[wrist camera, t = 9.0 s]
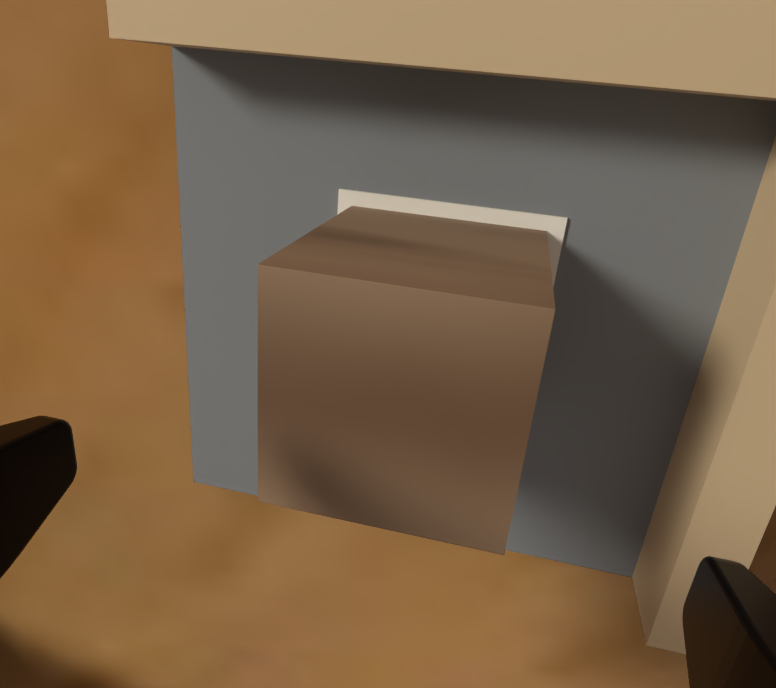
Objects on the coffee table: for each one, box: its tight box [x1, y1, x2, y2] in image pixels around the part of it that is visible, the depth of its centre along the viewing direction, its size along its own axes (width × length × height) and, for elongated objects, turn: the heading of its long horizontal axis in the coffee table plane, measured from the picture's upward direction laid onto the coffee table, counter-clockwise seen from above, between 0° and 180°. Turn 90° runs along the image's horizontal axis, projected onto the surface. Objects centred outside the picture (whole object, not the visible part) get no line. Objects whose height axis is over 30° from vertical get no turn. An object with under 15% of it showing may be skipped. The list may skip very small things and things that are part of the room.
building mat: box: [106, 0, 776, 655], centre depth 16 cm, size 15×16×3 cm
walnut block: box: [258, 206, 555, 555], centre depth 14 cm, size 5×5×6 cm
